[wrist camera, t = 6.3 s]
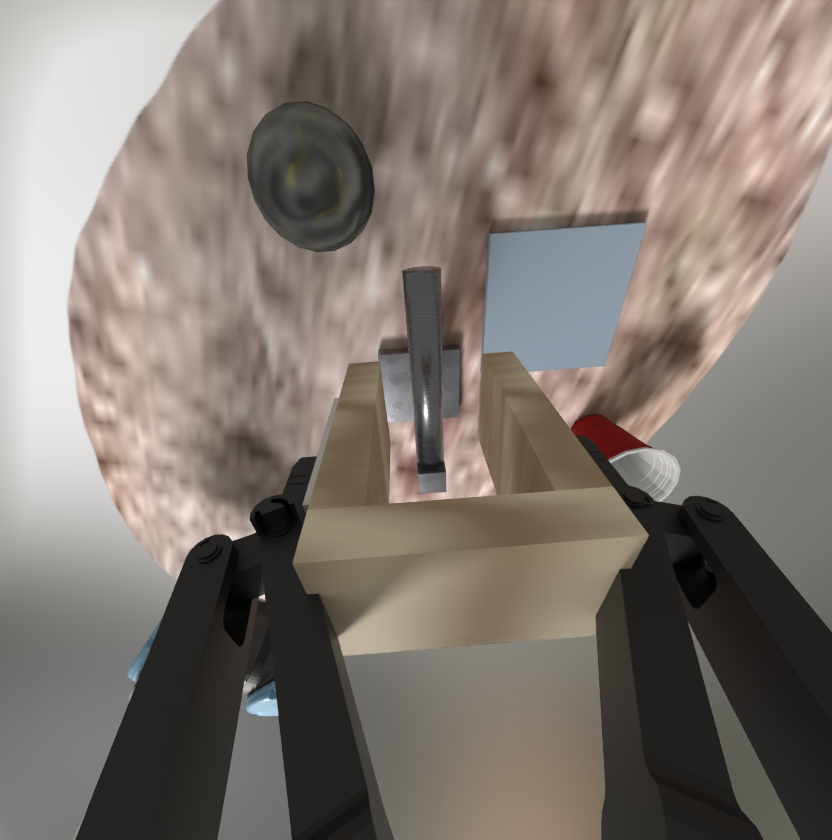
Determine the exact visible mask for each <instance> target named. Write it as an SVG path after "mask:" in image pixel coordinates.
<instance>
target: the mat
mask: <svg viewBox="0 0 832 840" xmlns="http://www.w3.org/2000/svg"><path fill="white" fill-rule="evenodd" d="M646 224H647V223H643V222H637V223H623V224H609V225H596V226H582V227H568V228H555V229H541V230H527V231H514V232H500V233H488V250H487V267H486V284H485V301H484V319H483V336H482V353H481V363H482V354H485V353H498V352H511V351H513V353H514V354H515V355H516V357H517V358H518V359H519V361H520V362H521V363H522V365H523V366H524V367H525V369H526V370H527V371H528V372H530V371H544V370H557V369H571V368H584V367H597V366H605V363H606V360H607V356H608V353H609V350H610V346H611V343H612V339H613V336H614V333H615V329H616V326H617V322H618V319H619V316H620V312H621V309H622V305H623V302H624V299H625V295H626V292H627V288H628V285H629V282H630V278H631V275H632V272H633V268H634V265H635V261H636V258H637V255H638V251H639V248H640V244H641V241H642V238H643V234H644V231H645V227H646ZM480 372H481V370H480Z"/></svg>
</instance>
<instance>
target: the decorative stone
mask: <svg viewBox="0 0 832 840" xmlns="http://www.w3.org/2000/svg"><path fill="white" fill-rule="evenodd" d="M247 165H248V180H249V183H250V187H251V190H252V194H253V197H254V200H255V202H256V204H257V206H258V207H259V209H260V211H261V213H262V214H263V216H264V218H265V220H266V221H267V222H268V223H269V224H270V225H271V226H272V227H273V228H274V229H275V231H276V232H277V233H278V234H279V235H280V236H282V237H283V238H285V239H286V240H288V241H290V242H291V243H293V244H295V245H296V246H298V247H300V248H304V249H308V250H311V251H315V252H323V251H335V250H337V249H339V248H341V247H343V246H346V245H348V244H350V243H351V242H352V241H353V240H354V239H355V238H356V237H357V236H358V235H359V234H360V233H361V232H362V231H363V230H364V228H365V226H366V223H367V221H368V219H369V217H370V215H371V213H372V206H373V200H374V193H375V189H374V180H373V172H372V167H371V164H370V161H369V159H368V156H367V153H366V151H365V148H364V145H363V144H362V142H361V141H360V140H359V138H358V137H357V135H356V134H355V133H354V131H353V130H352V128H351V127H350V126H349V124H347V123H346V122H345V121H344V120H342V119H341V118H340V117H338V116H337V115H336V114H335V113H333V112H332V111H331V110H329V109H327V108H325V107H322V106H319V105H316V104H313V103H310V102H307V101H304V102H292V103H284V104H283V105H281V106H279V107H277V108H276V109H274V110H272V111H271V112H269V113H267V114H266V115H265V116H264V117H263V119H262V120H261V121H260V123H259V124H258V126H257V127H256V128H255V130H254V131H253V134H252V138H251V142H250V145H249V149H248V153H247Z"/></svg>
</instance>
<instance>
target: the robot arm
mask: <svg viewBox="0 0 832 840" xmlns="http://www.w3.org/2000/svg"><path fill="white" fill-rule="evenodd" d="M338 401H339V398H335V399H334V402H333V406H332V409H331V412H330V416H329V419H328V422H327V425H326V429H325V432H324V435H323V439H322V442H321V445H320V449H319V452H318V455H317V456H316V457H303V458H300V459H299V461H298V462H297V463H296V464H295V465H294V466H293V468H292V470H291V473H290V476H289V478H288V481H287V484H286V486H285V489H284V491H283V494H282V495H276V496H272V497H269V498H267V499H265V500H263V501H261V502H260V503H259V504H257V505H256V506H255V507H254V509H253V510H252V512H251V514H250V521H251V523H252V525H253V527H254V529H255V530H256V533H254V534H252V535H249V536H246V537H243V538H240V539H237V540H234V541H232V540H231V539H230V537H229V536H226V535H223V534H221V535H213V536H210V537H208V538H205V539H204V540H202V541H201V542H199V543H198V544H196V545H195V546H194V547H193V548H192V549H191V550H190V552H189V554H188V555H187V557H186V559H185V562H184V564H183V567H182V570H181V572H180V575H179V577H178V580H177V583H176V585H175V587H174V590H173V592H172V595H171V598H170V600H169V603H168V605H167V608H166V610H165V613H164V615H163V618H162V619H161V620H160V622H159V623H158V625H157V626H156V628H155V629H154V631H153V632H152V634H151V635H150V638H149V640H147V642H146V643H145V645H144V646H143V648H142V649H141V650H140V652H139V654H138V655H137V657H136V658H135V660H134V661H133V663H132V665H131V667H130V669H129V671H128V674H127V675H128V677H129V678H131V679H132V681H137V682H136V684H135V686H134V687H133V689H132V691H131V693H130V695H129V704H128V707H127V709H126V712H125V714H124V717H123V719H122V722H121V725H120V727H119V730H118V732H117V735H116V737H115V740H114V742H113V745H112V747H111V750H110V752H109V755H108V758H107V760H106V763H105V765H104V768H103V770H102V773H101V775H100V778H99V780H98V783H97V785H96V788H95V790H94V793H93V796H92V798H91V801H90V803H89V806H88V809H87V811H86V813H85V815H84V817H83V819H82V821H81V823H80V825H79V827H78V829H77V831H76V833H75V836H74V837H73V839H72V840H217V838H218V832H219V826H220V821H221V814H222V809H223V803H224V798H225V792H226V785H227V780H228V774H229V768H230V762H231V757H232V751H233V745H234V739H235V733H236V728H237V722H238V716H239V710H240V704H241V698H242V695H247V696H248V697H247V699H246V704H247V705H246V709H247V711H248V712H249V713H251V714H255V715H259V716H279V725H280V734H281V743H282V752H283V761H284V770H285V779H286V787H287V796H288V805H289V815H290V823H291V835H292V840H394V838H393V835H392V831H391V828H390V825H389V822H388V819H387V816H386V813H385V810H384V806H383V803H382V799H381V795H380V792H379V788H378V784H377V781H376V777H375V773H374V770H373V766H372V763H371V758H370V755H369V751H368V747H367V744H366V740H365V737H364V732H363V729H362V725H361V721H360V718H359V714H358V710H357V706H356V703H355V699H354V695H353V692H352V688H351V684H350V680H349V677H348V673H347V670H346V666H345V662H344V658H343V654H342V651H341V647H340V643H339V640H338V636H337V634H336V632H335V629H334V627H333V625H332V623H331V620H330V618H329V616H328V613H327V611H326V609H325V607H324V604H323V602H322V600H321V597H320V595H319V593H318V594H307V593H306V591H305V589H304V587H303V585H302V583H301V581H300V579H299V577H298V575H297V573H296V570H295V568H294V566H293V564H292V563H293V559H294V556H295V552H296V549H297V545H298V542H299V538H300V535H301V531H302V528H303V524H304V521H305V517H306V513H307V510H308V506H309V503H310V499H311V496H312V492H313V489H314V485H315V482H316V478H317V475H318V471H319V468H320V464H321V461H322V457H323V454H324V450H325V447H326V443H327V439H328V436H329V432H330V429H331V425H332V422H333V418H334V415H335V411H336V408H337V404H338ZM575 436H576V437H577V439H578V440H579V441H580V443H581V444H582V446H583V447H584V448H585V450H586V451H587V452H588V454H589V455H590V456H591V458H592V459H593V460H594V462H595V463H596V464H597V466H598V467H599V468H600V470H601V471H602V473H603V474H604V475H605V477H606V478H607V479H608V481H609V482H610V483H611V485H612V486H613V487H614V489H615V490H616V491H617V493H618V494H619V495H620V497H621V498H622V499H623V501H624V502H625V504H626V505H627V506H628V508H629V509H630V510H631V512H632V513H633V514H634V516H635V517H636V518H637V520H638V521H639V522H640V524H641V525H642V526H643V528H644V529H645V530H646V532H647V533H648V535H649V536H648V538H647V540H646V542H645V544H644V546H643V547H642V549H641V551H640V553H639V555H638V556H637V558H636V560H635V562H634V564H633V565H632V567H631V568H628V569H620V570H619V572H618V574H617V575H616V577H615V579H614V581H613V583H612V585H611V587H610V589H609V591H608V593H607V595H606V597H605V599H604V601H603V602H602V604H601V606H600V608H599V610H598V612H597V614H596V616H595V618H596V635H597V651H598V669H599V685H600V701H601V719H602V737H603V753H604V771H605V800H604V804H603V810H602V821H601V835H602V836H601V838H602V840H763V838H762V836H761V834H760V833H759V831H758V829H757V827H756V826H755V825H754V824H753V823H752V821H750V820H749V818H748V817H747V816H746V815H745V814H744V813H743V812H742V811H741V809H740V807H739V805H738V803H737V801H736V798H735V795H734V792H733V789H732V785H731V781H730V778H729V774H728V771H727V767H726V763H725V759H724V755H723V752H722V748H721V744H720V740H719V737H718V733H717V729H716V726H715V722H714V718H713V714H712V710H711V707H710V704H709V699H708V696H707V692H706V688H705V685H704V681H703V677H702V673H701V670H700V666H699V662H698V658H697V655H696V651H695V647H694V644H693V640H692V636H691V632H690V629H689V625H688V622H689V624H690V626H691V628H692V630H693V632H694V634H695V636H696V638H697V640H698V641H699V644H700V645H701V647H702V649H703V651H704V653H705V655H706V657H707V658H708V661H709V663H710V665H711V667H712V669H713V671H714V672H715V674H716V676H717V678H718V680H719V682H720V684H721V686H722V688H723V690H724V692H725V694H726V696H727V698H728V700H729V702H730V704H731V706H732V708H733V709H734V711H735V713H736V715H737V717H738V719H739V721H740V723H741V724H742V727H743V729H744V731H745V733H746V735H747V737H748V738H749V740H750V742H751V744H752V746H753V748H754V750H755V752H756V754H757V756H758V758H759V760H760V762H761V764H762V766H763V768H764V770H765V772H766V774H767V775H768V777H769V779H770V781H771V783H772V785H773V787H774V789H775V791H776V793H777V795H778V797H779V799H780V801H781V803H782V804H783V807H784V808H785V810H786V812H787V814H788V816H789V818H790V820H791V822H792V824H793V826H794V828H795V830H796V832H797V834H798V836H799V838H800V840H832V632H831V631H830V629H829V628H828V627H827V626H826V625H825V623H824V622H823V621H822V620H821V619H820V618H819V616H818V615H817V614H816V613H815V611H814V610H813V609H812V608H811V606H810V605H809V604H808V603H807V602H806V601H805V599H804V598H803V597H802V596H801V594H800V593H799V592H798V591H797V590H796V589H795V587H794V586H793V585H792V584H791V582H790V581H789V580H788V579H787V578H786V576H785V575H784V574H783V573H782V571H781V570H780V569H779V568H778V567H777V565H775V563H774V562H773V561H772V559H771V558H770V557H769V556H768V555H767V553H766V552H765V551H764V550H763V549H762V547H761V546H760V545H759V544H758V542H757V541H756V540H755V539H754V538H753V536H752V535H751V534H750V533H749V532H748V530H747V529H746V528H745V527H744V526H743V524H742V523H741V522H740V521H739V519H738V518H737V517H736V516H735V515H734V513H733V512H731V511H730V510H729V509H728V508H727V507H726V506H724V505H722V504H721V503H719V502H717V501H715V500H712V499H710V498H707V497H701V496H690V497H688V498H687V499H685V500H684V502H683V504H682V505H676V504H670V503H664V502H658V501H654V499H653V498H652V497H651V496H650V495H649V494H648V493H646V492H645V491H643V490H641V489H639V488H636V487H633V486H629V485H628V484H627V483H626V482H625V480H624V479H623V478H622V477H621V475H620V474H619V473H618V472H617V470H616V469H615V468H614V467H613V465H612V464H611V463H610V462H609V460H607V458H606V457H605V455H604V454H603V453H601V450H600V449H599V448H598V447H597V445H596V444H595V443H594V442H593V441H591V440H590V439H588V438H587V437H585V436H584V435H575ZM264 594H265V599H266V600H264V599H260V598H259V596H261V595H264ZM687 620H688V621H687Z"/></svg>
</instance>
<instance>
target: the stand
mask: <svg viewBox="0 0 832 840" xmlns="http://www.w3.org/2000/svg"><path fill="white" fill-rule="evenodd" d="M402 272H403V285H404V298H405V311H406V324H407V337H408V348H406V349H393V350H379V352H378V359H379V362H380V367H381V375H382V382H383V390H384V397H385V405H386V412H387V420H388V422H400V421H413V420H414V428H415V440H416V453H417V467H418V480H419V493H420V494H423V493H437V492H446V469H445V464H444V439H443V418H453V417H459V382H460V348H459V345H446V346H442V306H441V268H439V267H432V266H422V267H413V268H408V269H405V270H403V271H402Z"/></svg>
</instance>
